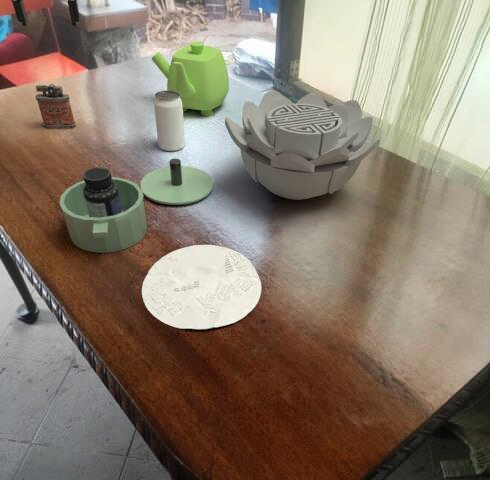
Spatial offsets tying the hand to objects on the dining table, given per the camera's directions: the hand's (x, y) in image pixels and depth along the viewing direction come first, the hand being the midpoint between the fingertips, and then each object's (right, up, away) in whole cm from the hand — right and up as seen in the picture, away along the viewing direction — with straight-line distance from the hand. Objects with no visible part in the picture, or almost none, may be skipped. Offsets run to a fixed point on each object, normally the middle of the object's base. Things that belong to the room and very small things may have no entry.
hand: (50, 24), depth 82 cm
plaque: (+28, -48, -5) cm, 56 cm away
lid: (+20, -24, +16) cm, 35 cm away
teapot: (+19, +8, +47) cm, 51 cm away
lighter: (-13, -3, +36) cm, 38 cm away
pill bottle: (+9, -36, +5) cm, 37 cm away
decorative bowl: (+46, -23, +20) cm, 55 cm away
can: (+17, -10, +30) cm, 36 cm away
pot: (+9, -36, +5) cm, 37 cm away
